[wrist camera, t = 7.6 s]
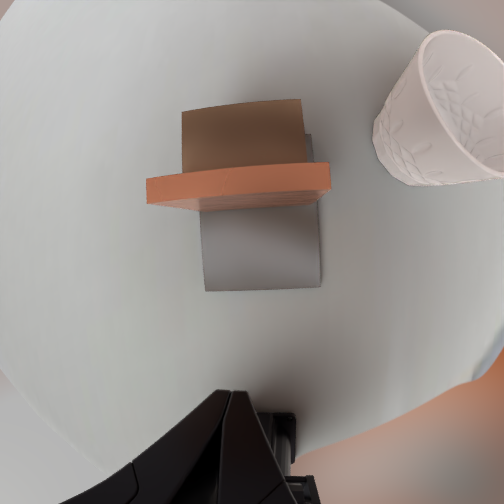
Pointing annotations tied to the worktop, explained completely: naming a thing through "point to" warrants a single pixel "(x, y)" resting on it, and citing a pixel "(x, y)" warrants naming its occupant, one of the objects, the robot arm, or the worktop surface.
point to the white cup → (444, 114)
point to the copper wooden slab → (242, 187)
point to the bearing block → (253, 219)
